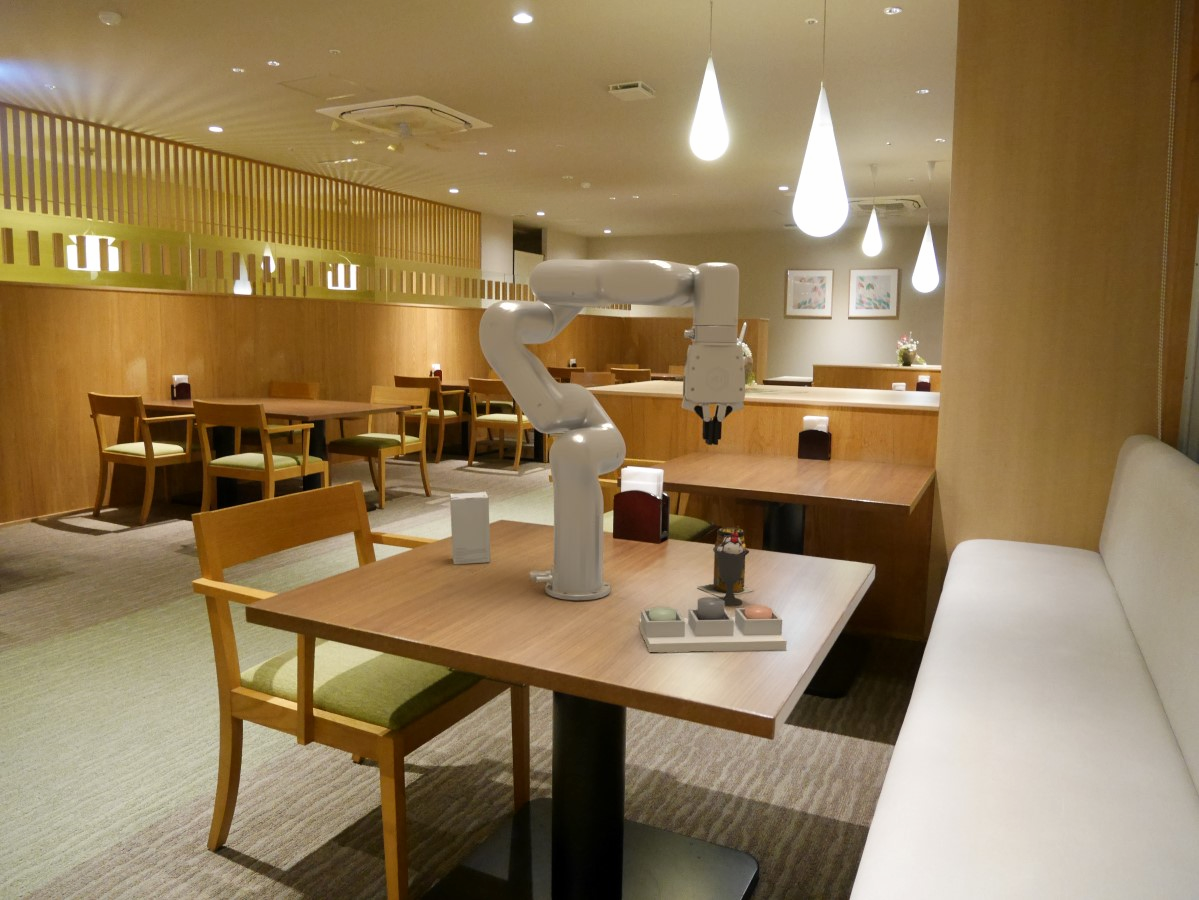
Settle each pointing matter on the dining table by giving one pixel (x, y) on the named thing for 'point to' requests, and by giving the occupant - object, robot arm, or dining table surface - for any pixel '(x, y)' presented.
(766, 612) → the terracotta button
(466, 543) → the skincare box
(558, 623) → the dining table surface
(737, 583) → the condiment
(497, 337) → the robot arm
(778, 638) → the panel
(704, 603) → the charcoal button
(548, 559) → the dining table surface
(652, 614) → the sage button
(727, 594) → the sundae
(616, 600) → the dining table surface
